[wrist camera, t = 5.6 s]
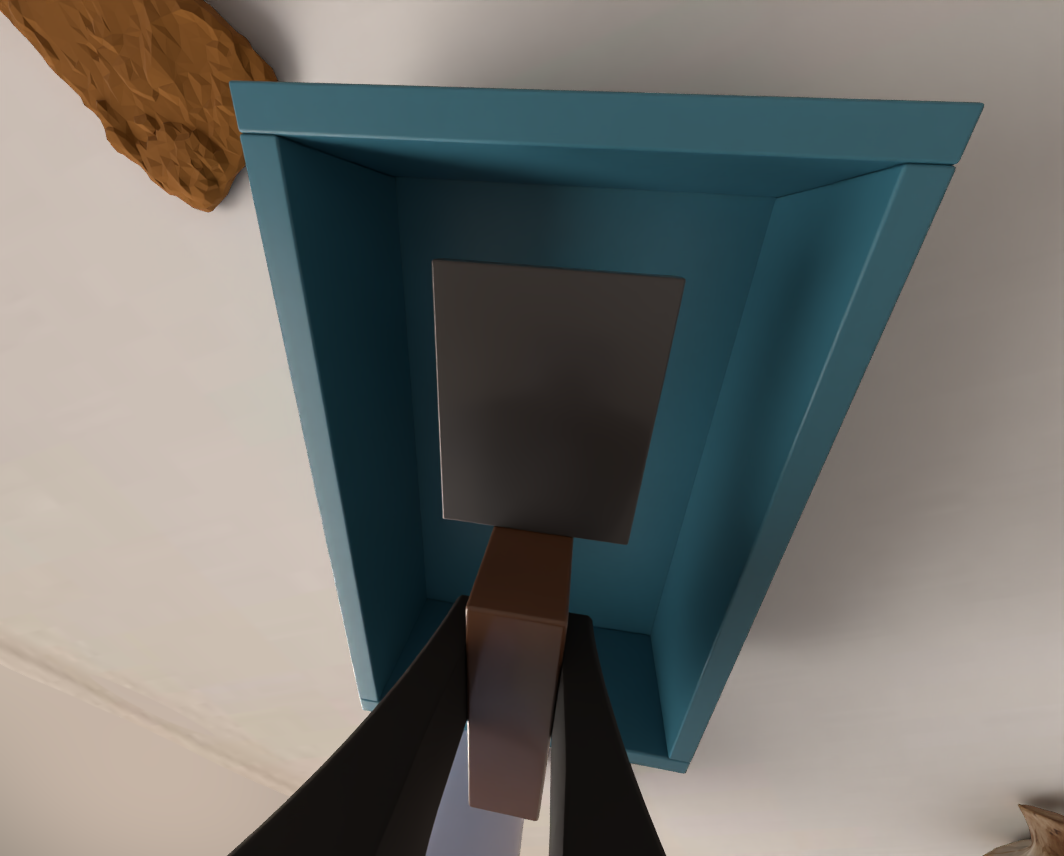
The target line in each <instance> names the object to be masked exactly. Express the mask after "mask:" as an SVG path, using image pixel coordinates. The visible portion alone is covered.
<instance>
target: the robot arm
mask: <svg viewBox="0 0 1064 856" xmlns="http://www.w3.org/2000/svg"><path fill="white" fill-rule="evenodd" d="M468 599H469V596H467V595H461V596H459V597H458V598H457V599H456V601H455V603H454V604H453V606H452V607H451V609H450V611H449V612H448V614H447V615H446V617H445V618H444V620H443V621H442V623H441V624H440V625H439V627H438V628H437V630H436V631H435V633H434V634H433V635H432V637H431V638H430V639H429V641H428V642H427V644H426V645H425V646H424V648H423V649H422V650H421V652H420V653H419V654H418V655H417V657H416V658H415V659H414V661H413V662H412V663H411V665H410V666H409V667H408V668H407V670H406V671H405V672H404V674H403V675H402V676H401V677H400V679H399V680H398V681H397V682H396V684H395V685H394V686H393V687H392V688H391V689H390V691H389V692H388V693H387V694H386V695H385V697H384V698H383V699H382V700H381V701H380V702H379V704H378V705H377V706H376V707H375V708H374V710H373V711H372V712H371V713H370V714H369V715H368V717H367V718H366V719H365V720H364V721H363V722H362V723H361V724H360V725H359V727H358V728H357V729H356V730H355V731H354V732H353V733H352V734H351V735H350V737H349V738H348V739H347V740H346V741H345V742H344V743H343V744H342V745H341V746H340V747H339V748H338V749H337V750H336V751H335V752H334V754H333V755H332V756H331V757H330V758H329V759H328V760H327V761H326V762H325V763H324V764H323V765H322V766H321V767H320V768H319V769H318V770H317V771H316V772H315V773H314V774H313V775H312V776H311V777H310V778H309V779H308V780H307V781H306V782H305V783H304V784H303V785H302V786H301V787H300V788H299V789H298V790H297V791H296V792H295V793H294V794H293V795H292V796H291V797H290V798H289V799H288V800H287V801H286V802H285V803H284V804H283V805H282V806H281V807H280V808H279V809H278V810H277V811H275V812H274V813H273V814H272V815H271V816H270V817H269V818H268V819H267V820H266V821H265V822H264V823H263V824H262V825H261V826H260V827H259V828H257V829H256V830H255V831H254V832H253V833H252V834H251V835H250V836H248V837H247V838H246V839H245V840H244V841H243V842H242V843H241V844H240V845H238V846H237V847H236V848H235V849H234V850H233V851H232V852H231V853H230V854H228V856H520V848H521V840H522V832H523V823H524V818H519V817H515V816H510V815H505V814H501V813H496V812H492V811H487V810H483V809H478V808H474V807H470V806H469V801H468V736H467V730H464V728H465V724H466V721H467V670H466V604H467V602H468ZM549 856H666V854H665V852H664V849H663V847H662V845H661V842H660V840H659V837H658V835H657V832H656V830H655V827H654V825H653V822H652V820H651V817H650V815H649V812H648V810H647V807H646V805H645V802H644V799H643V797H642V794H641V792H640V789H639V786H638V783H637V781H636V778H635V775H634V773H633V770H632V767H631V764H630V761H629V758H628V755H627V753H626V750H625V747H624V744H623V741H622V738H621V735H620V732H619V729H618V726H617V722H616V719H615V716H614V712H613V709H612V706H611V702H610V699H609V696H608V692H607V689H606V685H605V681H604V677H603V673H602V669H601V665H600V661H599V657H598V652H597V647H596V642H595V637H594V630H593V622H592V619H591V618H590V617H589V616H588V615H583V614H576V613H570V612H569V616H568V627H567V634H566V640H565V647H564V654H563V660H562V667H561V674H560V680H559V687H558V694H557V700H556V707H555V713H554V720H553V727H552V733H551V787H550V839H549Z"/></svg>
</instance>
